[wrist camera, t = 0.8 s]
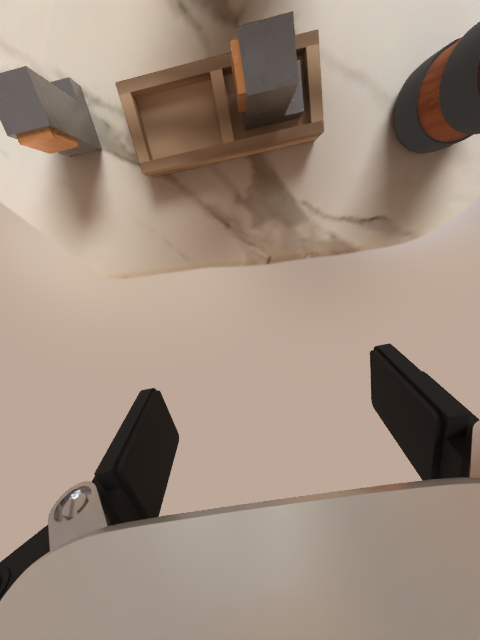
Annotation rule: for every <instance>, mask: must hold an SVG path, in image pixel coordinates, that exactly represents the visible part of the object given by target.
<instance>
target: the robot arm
mask: <svg viewBox="0 0 480 640" xmlns="http://www.w3.org/2000/svg"><path fill="white" fill-rule="evenodd" d="M370 366H371V399H372V404H373V407H374V409H375V410H376V412H377V413H378V415H379V416H380V418H381V419H382V421H383V422H384V424H385V425H386V427H387V428H388V430H389V431H390V433H391V434H392V436H393V437H394V439H395V440H396V442H397V443H398V445H399V446H400V448H401V449H402V450H403V452H404V453H405V455H406V456H407V458H408V459H409V461H410V462H411V464H412V465H413V467H414V468H415V469H416V471H417V473H418V474H419V476H420V477H421V479H422V480H423V481H416V482H408V483H398V484H390V485H382V486H374V487H367V488H360V489H352V490H344V491H337V492H329V493H322V494H314V495H307V496H300V497H293V498H286V499H278V500H271V501H264V502H257V503H250V504H243V505H236V506H229V507H222V508H215V509H208V510H202V511H195V512H188V513H181V514H174V515H167V516H161V517H158V516H159V513H160V509H161V505H162V502H163V498H164V494H165V490H166V487H167V483H168V479H169V476H170V471H171V468H172V464H173V461H174V457H175V453H176V450H177V446H178V442H179V434H178V432H177V429H176V427H175V425H174V422H173V420H172V418H171V415H170V413H169V411H168V409H167V406H166V404H165V402H164V399H163V397H162V395H161V393H160V391H157V390H156V389H155V388H152V389H147V390H142V391H140V393H139V395H138V396H137V398H136V400H135V402H134V404H133V405H132V407H131V409H130V411H129V413H128V415H127V416H126V418H125V420H124V421H123V423H122V425H121V427H120V429H119V430H118V432H117V434H116V436H115V438H114V439H113V441H112V443H111V445H110V447H109V448H108V450H107V452H106V454H105V456H104V457H103V459H102V461H101V463H100V465H99V466H98V468H97V470H96V472H95V477H94V479H93V480H92V482H82V483H79V484H77V485H75V486H74V487H72V488H70V489H69V490H68V491H66V492H65V493H64V494H63V495H62V496H61V497H60V498H59V499H58V500H57V501H56V503H55V504H54V506H53V507H52V509H51V511H50V514H49V519H48V525H47V526H46V527H44V528H43V529H42V530H41V531H39V532H38V533H37V534H35V535H34V536H33V537H32V538H30V539H29V540H28V541H27V542H25V543H24V544H23V545H21V546H20V547H19V548H18V549H16V550H15V551H14V552H13V553H11V554H10V555H9V556H8V557H6V558H5V559H4V560H2V561H1V562H0V640H480V420H479V419H478V418H477V417H476V416H475V415H473V414H472V413H471V412H470V411H469V410H468V409H466V408H465V407H464V406H463V405H462V404H461V403H460V402H459V401H457V400H456V399H455V398H454V397H453V396H452V395H451V394H449V393H448V392H447V391H446V390H445V389H444V388H442V387H441V386H440V385H439V384H438V383H437V382H436V381H435V380H433V379H432V378H431V377H430V376H429V375H428V374H426V373H425V372H423V371H421V370H419V369H418V368H417V367H416V366H415V365H414V364H413V363H412V362H410V361H409V360H408V359H407V358H406V357H405V356H404V355H403V354H401V353H400V352H399V351H398V350H397V349H396V348H395V347H393V346H392V345H391V344H385V345H379V346H375V347H374V350H372V351H371V352H370Z"/></svg>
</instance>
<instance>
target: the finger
mask: <svg viewBox="0 0 480 640" xmlns="http://www.w3.org/2000/svg"><path fill="white" fill-rule="evenodd" d="M0 120H1V122H2V124H3V127H4V129H5V131H6V133H7V135H8V136H9V137H12V138H15V139H18V141H19V143H20V144H21V145H24V146H27V147H30V148H34V149H37V150H40V151H43V152H46V153H50V154H52V153H56V152H58V153H61V154H64V155H67V156H70V157H72V156H76V155H80V154H84V153H89V152H93V151H97V150H101V149H102V148H101V145H100V142H99V139H98V136H97V133H96V130H95V127H94V125H93V122H92V119H91V116H90V113H89V110H88V107H87V104H86V101H85V98H84V95H83V92H82V90H81V87H80V86H79V85H78V84H77V83H76V82H74V81H73V80H72V79H71V78H69V77H68V78H65V79H61V80H57V81H54V82H49V81H47V80H46V79H44V78H43V77H41V76H40V75H38V74H37V73H35V72H34V71H33V70H31V69H30V68H28V67H27V66H25V67H21V68H17V69H14V70H10V71H6V72H3V73H0Z"/></svg>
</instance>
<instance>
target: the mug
mask: <svg viewBox="0 0 480 640" xmlns="http://www.w3.org/2000/svg"><path fill="white" fill-rule="evenodd" d="M394 125H395V130H396V133H397V136H398V138H399V140H400V141H401V142H402V144H403V145H404V146H405V147H407V148H408V149H409V150H412V151H414V152H418V153H429V152H433V151H437V150H440V149H443V148H446V147H448V146H451V145H453V144H455V143H458V142H460V141H462V140H464V139H466V138H468V137H470V136H471V135H473V134H480V22H479V23H477V24H476V25H475V26H473V27H472V28H471V29H470V30H469V31H468V32H467V33H466V34H465V35H464V36H463V37H462V38H459V39H457V40H455V41H453V42H452V43H450V44H449V45H447V46H446V47H444V48H443V49H441V50H440V51H438V52H437V53H436V54H434V55H433V56H431V57H430V58H429V59H427V60H426V61H425V62H424V63H422V64H421V65H420V66H419V67H418V68H417V69H416V70H415V71H414V72H413V73H412V74H411V75H410V76H409V78H408V79H407V80H406V82H405V83H404V85H403V87H402V89H401V91H400V93H399V96H398V98H397V101H396V105H395V111H394Z"/></svg>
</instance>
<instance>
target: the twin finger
mask: <svg viewBox="0 0 480 640" xmlns="http://www.w3.org/2000/svg"><path fill="white" fill-rule="evenodd" d="M230 47H231V63H232V73H233V79H234V86H235V92H236V98H237V104H238V111H239V113H240V112H242V113H243V120H244V126H245V131H247V130H251V129H255V128H260V127H264V126H268V125H272V124H276V123H281V122H285V121H289V120H293V119H297V118H300V117H301V115H302V114H303V112H304V104H303V91H302V79H301V66H300V60H297V55H296V43H295V31H294V19H293V12H289V13H285V14H281V15H278V16H274V17H270V18H267V19H263V20H259V21H255V22H252V23H248V24H244V25H241V26H237V39H234V40H230Z"/></svg>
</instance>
